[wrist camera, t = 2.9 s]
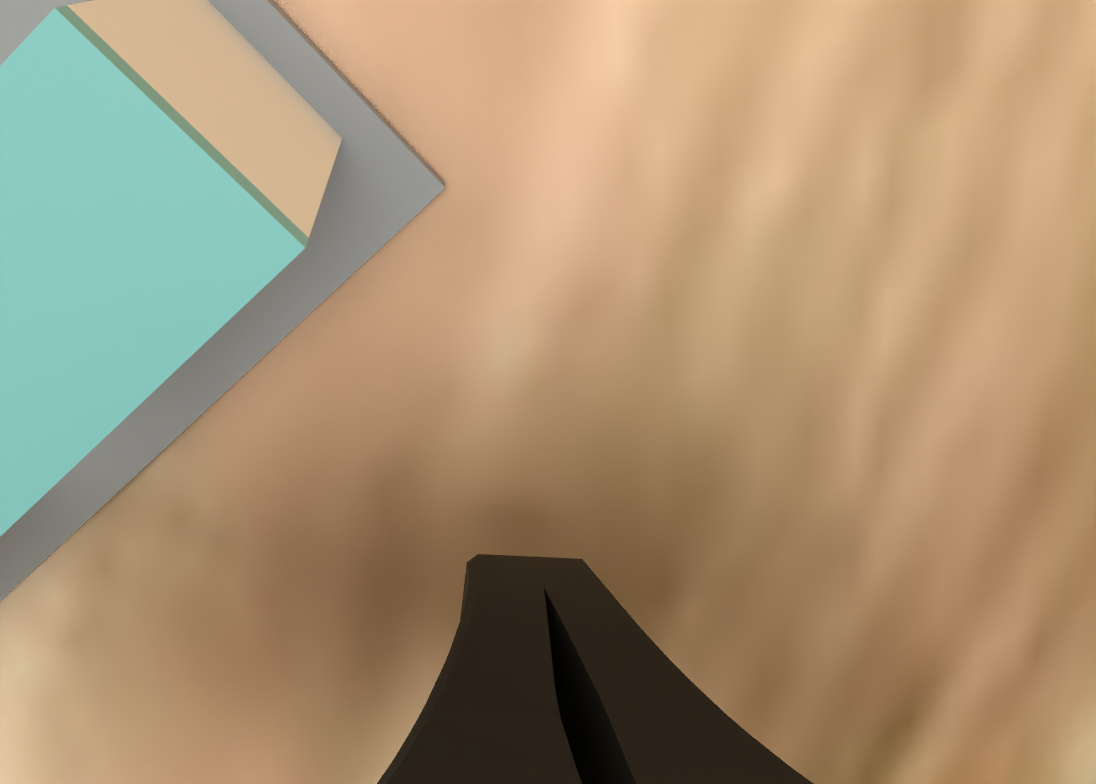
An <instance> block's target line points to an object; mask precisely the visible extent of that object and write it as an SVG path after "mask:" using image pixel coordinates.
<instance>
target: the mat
mask: <svg viewBox="0 0 1096 784" xmlns="http://www.w3.org/2000/svg"><path fill="white" fill-rule="evenodd" d="M86 1H91V0H0V66H1V64H2V63H3V62H4V61H5V60H6V59H7V58H8V57H9V56H10V55H11V54H12V53H13V52H14V51H15V50H16V48H17V47H18V46H19V45H20V44H21V43H22V42H23V41H24V40H25V39H26V38H27V37H28V36H29V35H30V33H31V32H32V31H33V30H34V29H35V28H36V27H37V26H38V25H39V24H40V23H41V22H42V21H43V20H44V19H45V17H46V16H47V15H48V14H49V13H50V12H51V11H52V10H53V9H54V8H56V7H61V6H66V5H71V4H76V3H81V2H86ZM208 1H209V2H210V3H211V4H212V5H213V6H214V7H215V8H216V9H217V10H218V11H219V12H220V13H221V14H222V15H223V16H224V17H225V18H226V19H227V20H228V21H229V22H230V23H231V25H232V26H233V27H234V28H235V29H236V30H237V31H238V32H239V33H240V34H241V35H242V36H243V37H244V38H245V39H246V40H247V41H248V42H249V43H250V44H251V45H252V46H253V47H254V48H255V49H256V50H257V51H258V52H259V53H260V54H261V55H262V56H263V57H264V58H265V59H266V60H267V61H268V63H269V64H270V65H271V66H272V67H273V68H274V69H275V70H276V71H277V72H278V73H279V74H280V75H281V76H282V77H283V78H284V79H285V80H286V81H287V82H288V83H289V84H290V85H291V86H292V87H293V88H294V89H295V90H296V91H297V92H298V93H299V94H300V95H301V96H302V97H303V98H304V99H305V101H306V102H307V103H308V104H309V105H310V106H311V107H312V108H313V109H314V110H315V111H316V112H317V113H318V114H319V115H320V116H321V117H322V118H323V119H324V120H325V121H326V122H327V123H328V124H329V125H330V126H331V127H332V128H333V129H334V130H335V131H336V132H337V133H338V134H339V135H340V136H341V137H342V140H341V143H340V146H339V149H338V152H337V155H336V158H335V161H334V164H333V167H332V170H331V173H330V176H329V179H328V182H327V185H326V188H325V191H324V194H323V197H322V200H321V203H320V206H319V209H318V212H317V215H316V218H315V221H314V224H313V227H312V230H311V233H310V236H309V239H308V242H307V245H306V248H305V249H304V250H303V251H302V252H301V253H300V254H299V255H297V256H296V257H295V258H294V259H293V260H292V261H291V262H290V263H289V264H288V265H287V266H286V267H285V268H284V269H283V270H282V271H281V272H280V273H278V274H277V275H276V276H275V277H274V278H273V279H272V280H271V281H270V282H269V283H268V284H267V285H266V286H265V287H264V288H263V289H262V290H260V291H259V292H258V293H257V294H256V295H255V296H254V297H253V298H252V299H251V300H250V301H249V302H248V303H247V304H246V305H245V306H244V307H243V308H241V309H240V310H239V311H238V312H237V313H236V314H235V315H234V316H233V317H232V318H231V319H230V320H229V321H228V322H227V323H226V324H225V325H223V326H222V327H221V328H220V329H219V330H218V331H217V332H216V333H215V334H214V335H213V336H212V337H211V338H210V339H209V340H208V341H207V342H206V343H204V344H203V345H202V346H201V347H200V348H199V349H198V350H197V351H196V352H195V353H194V354H193V355H192V356H191V357H190V358H189V359H188V360H186V361H185V362H184V363H183V364H182V365H181V366H180V367H179V368H178V369H177V370H176V371H175V372H174V373H173V374H172V375H171V376H170V377H169V378H167V379H166V380H165V381H164V382H163V383H162V384H161V385H160V386H159V387H158V388H157V389H156V390H155V391H154V392H153V393H152V394H151V395H149V396H148V397H147V398H146V399H145V400H144V401H143V402H142V403H141V404H140V405H139V406H138V407H137V408H136V409H135V410H134V411H133V412H131V413H130V414H129V415H128V416H127V417H126V418H125V419H124V420H123V421H122V422H121V423H120V424H119V425H118V426H117V427H116V428H115V429H114V430H112V431H111V432H110V433H109V434H108V435H107V436H106V437H105V438H104V439H103V440H102V441H101V442H100V443H99V444H98V445H97V446H96V447H94V448H93V449H92V450H91V451H90V452H89V453H88V454H87V455H86V456H85V457H84V458H83V459H82V460H81V461H80V462H79V463H78V464H77V465H75V466H74V467H73V468H72V469H71V470H70V471H69V472H68V473H67V474H66V475H65V476H64V477H63V478H62V479H61V480H60V481H59V482H57V483H56V484H55V485H54V486H53V487H52V488H51V489H50V490H49V491H48V492H47V493H46V494H45V495H44V496H43V497H42V498H41V499H40V500H38V501H37V502H36V503H35V504H34V505H33V506H32V507H31V508H30V509H29V510H28V511H27V512H26V513H25V514H24V515H23V516H22V517H20V518H19V519H18V520H17V521H16V522H15V523H14V524H13V525H12V526H11V527H10V528H9V529H8V530H7V531H6V532H5V533H4V534H3V535H1V536H0V601H1V600H2V599H3V598H4V597H6V596H7V595H8V594H9V593H10V592H11V591H12V590H13V589H14V588H15V587H16V586H17V585H18V584H19V583H21V582H22V581H23V580H24V579H25V578H26V577H27V576H28V575H29V574H30V573H31V572H32V571H33V570H35V569H36V568H37V567H38V566H39V565H40V564H41V563H42V562H43V561H44V560H45V559H46V558H47V557H49V556H50V555H51V554H52V553H53V552H54V551H55V550H56V549H57V548H58V547H59V546H60V545H61V544H63V543H64V542H65V541H66V540H67V539H68V538H69V537H70V536H71V535H72V534H73V533H74V532H75V531H77V530H78V529H79V528H80V527H81V526H82V525H83V524H84V523H85V522H86V521H87V520H88V519H89V518H91V517H92V516H93V515H94V514H95V513H96V512H97V511H98V510H99V509H100V508H101V507H102V506H103V505H105V504H106V503H107V502H108V501H109V500H110V499H111V498H112V497H113V496H114V495H115V494H116V493H117V492H119V491H120V490H121V489H122V488H123V487H124V486H125V485H126V484H127V483H128V482H129V481H130V480H131V479H133V478H134V477H135V476H136V475H137V474H138V473H139V472H140V471H141V470H142V469H143V468H144V467H145V466H147V465H148V464H149V463H150V462H151V461H152V460H153V459H154V458H155V457H156V456H157V455H158V454H159V453H161V452H162V451H163V450H164V449H165V448H166V447H167V446H168V445H169V444H170V443H171V442H172V441H173V440H175V439H176V438H177V437H178V436H179V435H180V434H181V433H182V432H183V431H184V430H185V429H186V428H187V427H188V426H190V425H191V424H192V423H193V422H194V421H195V420H196V419H197V418H198V417H199V416H200V415H201V414H202V413H204V412H205V411H206V410H207V409H208V408H209V407H210V406H211V405H212V404H213V403H214V402H215V401H216V400H218V399H219V398H220V397H221V396H222V395H223V394H224V393H225V392H226V391H227V390H228V389H229V388H230V387H232V386H233V385H234V384H235V383H236V382H237V381H238V380H239V379H240V378H241V377H242V376H243V375H244V374H246V373H247V372H248V371H249V370H250V369H251V368H252V367H253V366H254V365H255V364H256V363H257V362H258V361H260V360H261V359H262V358H263V357H264V356H265V355H266V354H267V353H268V352H269V351H270V350H271V349H272V348H274V347H275V346H276V345H277V344H278V343H279V342H280V341H281V340H282V339H283V338H284V337H285V336H286V335H288V334H289V333H290V332H291V331H292V330H293V329H294V328H295V327H296V326H297V325H298V324H299V323H300V322H302V321H303V320H304V319H305V318H306V317H307V316H308V315H309V314H310V313H311V312H312V311H313V310H314V309H316V308H317V307H318V306H319V305H320V304H321V303H322V302H323V301H324V300H325V299H326V298H327V297H328V296H330V295H331V294H332V293H333V292H334V291H335V290H336V289H337V288H338V287H339V286H340V285H341V284H342V283H344V282H345V281H346V280H347V279H348V278H349V277H350V276H351V275H352V274H353V273H354V272H355V271H356V270H358V269H359V268H360V267H361V266H362V265H363V264H364V263H365V262H366V261H367V260H368V259H369V258H370V257H371V256H373V255H374V254H375V253H376V252H377V251H378V250H379V249H380V248H381V247H382V246H383V245H384V244H385V243H387V242H388V241H389V240H390V239H391V238H392V237H393V236H394V235H395V234H396V233H397V232H398V231H399V230H401V229H402V228H403V227H404V226H405V225H406V224H407V223H408V222H409V221H410V220H411V219H412V218H413V217H415V216H416V215H417V214H418V213H419V212H420V211H421V210H422V209H423V208H424V207H425V206H426V205H427V204H429V203H430V202H431V201H432V200H433V199H434V198H435V197H436V196H437V195H438V194H439V193H440V192H441V191H443V190H444V189H445V183H444V181H443V179H442V178H441V177H440V176H439V175H438V174H437V173H436V172H435V171H434V170H433V169H432V168H431V167H430V166H429V165H428V164H427V163H426V161H425V160H424V159H423V158H422V157H421V156H420V155H419V154H418V153H417V152H416V151H415V150H414V149H413V148H412V147H411V146H410V145H409V143H408V142H407V141H406V140H405V139H404V138H403V137H402V136H401V135H400V134H399V133H398V132H397V131H396V130H395V129H394V128H393V127H392V126H391V124H390V123H389V122H388V121H387V120H386V119H385V118H384V117H383V116H382V115H381V114H380V113H379V112H378V111H377V110H376V109H375V108H374V106H373V105H372V104H371V103H370V102H369V101H368V100H367V99H366V98H365V97H364V96H363V95H362V94H361V93H360V92H359V91H358V90H357V88H356V87H355V86H354V85H353V84H352V83H351V82H350V81H349V80H348V79H347V78H346V77H345V76H344V75H343V74H342V73H341V72H340V70H339V69H338V68H337V67H336V66H335V65H334V64H333V63H332V62H331V61H330V60H329V59H328V58H327V57H326V56H325V55H324V54H323V52H322V51H321V50H320V49H319V48H318V47H317V46H316V45H315V44H314V43H313V42H312V41H311V40H310V39H309V38H308V37H307V36H306V34H305V33H304V32H303V31H302V30H301V29H300V28H299V27H298V26H297V25H296V24H295V23H294V22H293V21H292V20H291V19H290V18H289V16H288V15H287V14H286V13H285V12H284V11H283V10H282V9H281V8H280V7H279V6H278V5H277V4H276V3H275V2H274V1H273V0H208Z"/></svg>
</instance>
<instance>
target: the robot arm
mask: <svg viewBox="0 0 1096 784" xmlns="http://www.w3.org/2000/svg"><path fill="white" fill-rule="evenodd" d="M377 784H813V783H812V782H810V781H809V780H808V779H806V778H805V777H803V776H802V775H801V774H799V773H798V772H796V771H795V770H794V769H792V768H791V767H790V766H788V765H787V764H786V763H785V762H783V761H782V760H781V759H780V758H778V757H777V756H776V755H775V754H773V753H772V752H771V751H770V750H768V749H767V748H766V747H765V746H763V745H762V744H761V743H760V742H758V741H757V740H756V739H755V738H753V737H752V736H751V735H749V734H748V733H747V732H746V731H745V730H744V729H742V728H741V727H740V726H739V725H738V724H737V723H735V722H734V721H733V720H732V719H731V718H730V717H729V716H727V715H726V714H725V713H724V712H723V711H722V710H721V709H720V708H719V707H718V706H717V705H716V704H715V703H713V702H712V701H711V700H710V699H709V698H708V697H707V696H706V695H705V694H704V693H703V692H702V691H701V690H700V689H699V688H698V687H696V686H695V685H694V684H693V683H692V682H691V681H690V680H689V679H688V678H687V677H686V676H685V675H684V674H683V673H682V672H681V671H680V670H679V669H678V668H677V667H676V666H675V665H674V664H673V663H672V662H671V660H670V659H669V658H668V657H667V656H666V655H665V654H664V653H663V652H662V651H661V650H660V649H659V648H658V647H657V646H656V644H655V643H654V642H653V641H652V640H651V639H650V638H649V637H648V636H647V635H646V634H645V632H644V631H643V630H642V629H641V628H640V627H639V626H638V624H637V623H636V622H635V621H634V620H633V619H632V617H631V616H630V615H629V614H628V613H627V612H626V610H625V609H624V608H623V607H622V606H621V605H620V603H619V602H618V601H617V600H616V599H615V598H614V596H613V595H612V594H611V593H610V592H609V590H608V589H607V588H606V587H605V586H604V584H603V583H602V582H601V581H600V580H599V579H598V577H597V576H596V575H595V574H594V573H593V571H592V570H591V569H590V568H589V567H588V566H587V564H586V563H585V562H584V561H583V560H582V559H570V558H548V557H526V556H505V555H483V554H478V555H476V556H475V557H474V558H472V559H471V560H470V561H468V562H467V567H466V575H465V584H464V593H463V601H462V610H461V619H460V623H459V626H458V629H457V632H456V635H455V637H454V640H453V643H452V646H451V649H450V652H449V654H448V657H447V659H446V662H445V664H444V666H443V668H442V670H441V673H440V675H439V677H438V679H437V681H436V683H435V685H434V688H433V690H432V692H431V694H430V696H429V698H428V700H427V702H426V704H425V706H424V708H423V710H422V712H421V714H420V716H419V718H418V719H417V721H416V723H415V725H414V727H413V728H412V730H411V732H410V734H409V735H408V737H407V739H406V740H405V742H404V743H403V745H402V747H401V748H400V750H399V752H398V753H397V755H396V757H395V758H394V760H393V761H392V763H391V764H390V766H389V767H388V769H387V770H386V771H385V773H384V774H383V776H382V777H381V779H380V780H379V782H378V783H377Z"/></svg>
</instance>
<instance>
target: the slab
mask: <svg viewBox="0 0 1096 784" xmlns="http://www.w3.org/2000/svg"><path fill="white" fill-rule="evenodd" d="M341 140H342V137H341V136H340V135H339V134H338V133H337V132H336V131H335V130H334V129H333V128H332V127H331V126H330V125H329V124H328V123H327V122H326V121H325V120H324V119H323V118H322V117H321V116H320V115H319V114H318V113H317V112H316V111H315V110H314V109H313V108H312V107H311V106H310V105H309V104H308V103H307V102H306V101H305V99H304V98H303V97H302V96H301V95H300V94H299V93H298V92H297V91H296V90H295V89H294V88H293V87H292V86H291V85H290V84H289V83H288V82H287V81H286V80H285V79H284V78H283V77H282V76H281V75H280V74H279V73H278V72H277V71H276V70H275V69H274V68H273V67H272V66H271V65H270V64H269V63H268V61H267V60H266V59H265V58H264V57H263V56H262V55H261V54H260V53H259V52H258V51H257V50H256V49H255V48H254V47H253V46H252V45H251V44H250V43H249V42H248V41H247V40H246V39H245V38H244V37H243V36H242V35H241V34H240V33H239V32H238V31H237V30H236V29H235V28H234V27H233V26H232V25H231V23H230V22H229V21H228V20H227V19H226V18H225V17H224V16H223V15H222V14H221V13H220V12H219V11H218V10H217V9H216V8H215V7H214V6H213V5H212V4H211V3H210V2H209V1H208V0H91V1H86V2H81V3H76V4H71V5H66V6H61V7H56V8H54V9H53V10H52V11H51V12H50V13H49V14H48V15H47V16H46V17H45V19H44V20H43V21H42V22H41V23H40V24H39V25H38V26H37V27H36V28H35V29H34V30H33V31H32V32H31V33H30V35H29V36H28V37H27V38H26V39H25V40H24V41H23V42H22V43H21V44H20V45H19V46H18V47H17V48H16V50H15V51H14V52H13V53H12V54H11V55H10V56H9V57H8V58H7V59H6V60H5V61H4V62H3V63H2V64H1V66H0V536H1V535H3V534H4V533H5V532H6V531H7V530H8V529H9V528H10V527H11V526H12V525H13V524H14V523H15V522H16V521H17V520H18V519H19V518H20V517H22V516H23V515H24V514H25V513H26V512H27V511H28V510H29V509H30V508H31V507H32V506H33V505H34V504H35V503H36V502H37V501H38V500H40V499H41V498H42V497H43V496H44V495H45V494H46V493H47V492H48V491H49V490H50V489H51V488H52V487H53V486H54V485H55V484H56V483H57V482H59V481H60V480H61V479H62V478H63V477H64V476H65V475H66V474H67V473H68V472H69V471H70V470H71V469H72V468H73V467H74V466H75V465H77V464H78V463H79V462H80V461H81V460H82V459H83V458H84V457H85V456H86V455H87V454H88V453H89V452H90V451H91V450H92V449H93V448H94V447H96V446H97V445H98V444H99V443H100V442H101V441H102V440H103V439H104V438H105V437H106V436H107V435H108V434H109V433H110V432H111V431H112V430H114V429H115V428H116V427H117V426H118V425H119V424H120V423H121V422H122V421H123V420H124V419H125V418H126V417H127V416H128V415H129V414H130V413H131V412H133V411H134V410H135V409H136V408H137V407H138V406H139V405H140V404H141V403H142V402H143V401H144V400H145V399H146V398H147V397H148V396H149V395H151V394H152V393H153V392H154V391H155V390H156V389H157V388H158V387H159V386H160V385H161V384H162V383H163V382H164V381H165V380H166V379H167V378H169V377H170V376H171V375H172V374H173V373H174V372H175V371H176V370H177V369H178V368H179V367H180V366H181V365H182V364H183V363H184V362H185V361H186V360H188V359H189V358H190V357H191V356H192V355H193V354H194V353H195V352H196V351H197V350H198V349H199V348H200V347H201V346H202V345H203V344H204V343H206V342H207V341H208V340H209V339H210V338H211V337H212V336H213V335H214V334H215V333H216V332H217V331H218V330H219V329H220V328H221V327H222V326H223V325H225V324H226V323H227V322H228V321H229V320H230V319H231V318H232V317H233V316H234V315H235V314H236V313H237V312H238V311H239V310H240V309H241V308H243V307H244V306H245V305H246V304H247V303H248V302H249V301H250V300H251V299H252V298H253V297H254V296H255V295H256V294H257V293H258V292H259V291H260V290H262V289H263V288H264V287H265V286H266V285H267V284H268V283H269V282H270V281H271V280H272V279H273V278H274V277H275V276H276V275H277V274H278V273H280V272H281V271H282V270H283V269H284V268H285V267H286V266H287V265H288V264H289V263H290V262H291V261H292V260H293V259H294V258H295V257H296V256H297V255H299V254H300V253H301V252H302V251H303V250H304V249H305V248H306V245H307V242H308V239H309V236H310V233H311V230H312V227H313V224H314V221H315V218H316V215H317V212H318V209H319V206H320V203H321V200H322V197H323V194H324V191H325V188H326V185H327V182H328V179H329V176H330V173H331V170H332V167H333V164H334V161H335V158H336V155H337V152H338V149H339V146H340V143H341Z"/></svg>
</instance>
